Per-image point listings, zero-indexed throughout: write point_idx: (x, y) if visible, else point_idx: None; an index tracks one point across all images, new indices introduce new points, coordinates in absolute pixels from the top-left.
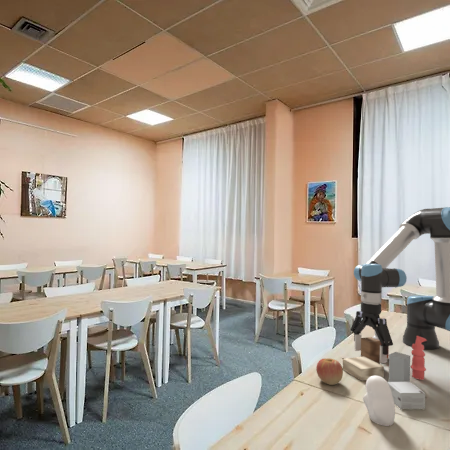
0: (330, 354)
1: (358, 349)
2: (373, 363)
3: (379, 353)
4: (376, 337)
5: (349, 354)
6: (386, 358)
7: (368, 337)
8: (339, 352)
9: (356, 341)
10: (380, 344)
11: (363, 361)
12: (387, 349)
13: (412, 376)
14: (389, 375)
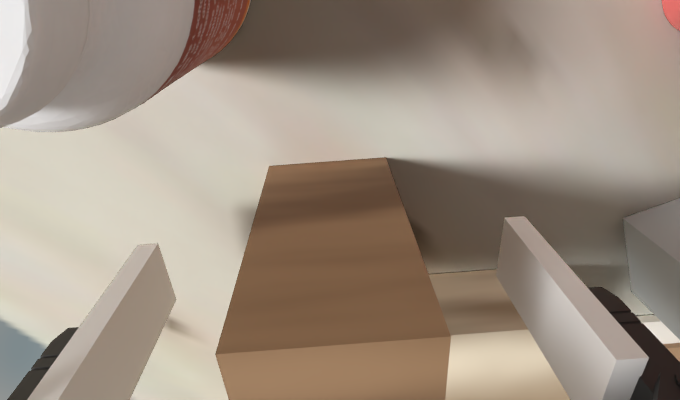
0: None
1: (164, 282)
2: (522, 358)
3: (408, 227)
4: (48, 112)
5: (76, 236)
6: (544, 243)
7: (237, 397)
8: (31, 286)
9: (134, 378)
10: (185, 62)
11: (459, 397)
12: (651, 343)
13: (677, 28)
14: (676, 329)
